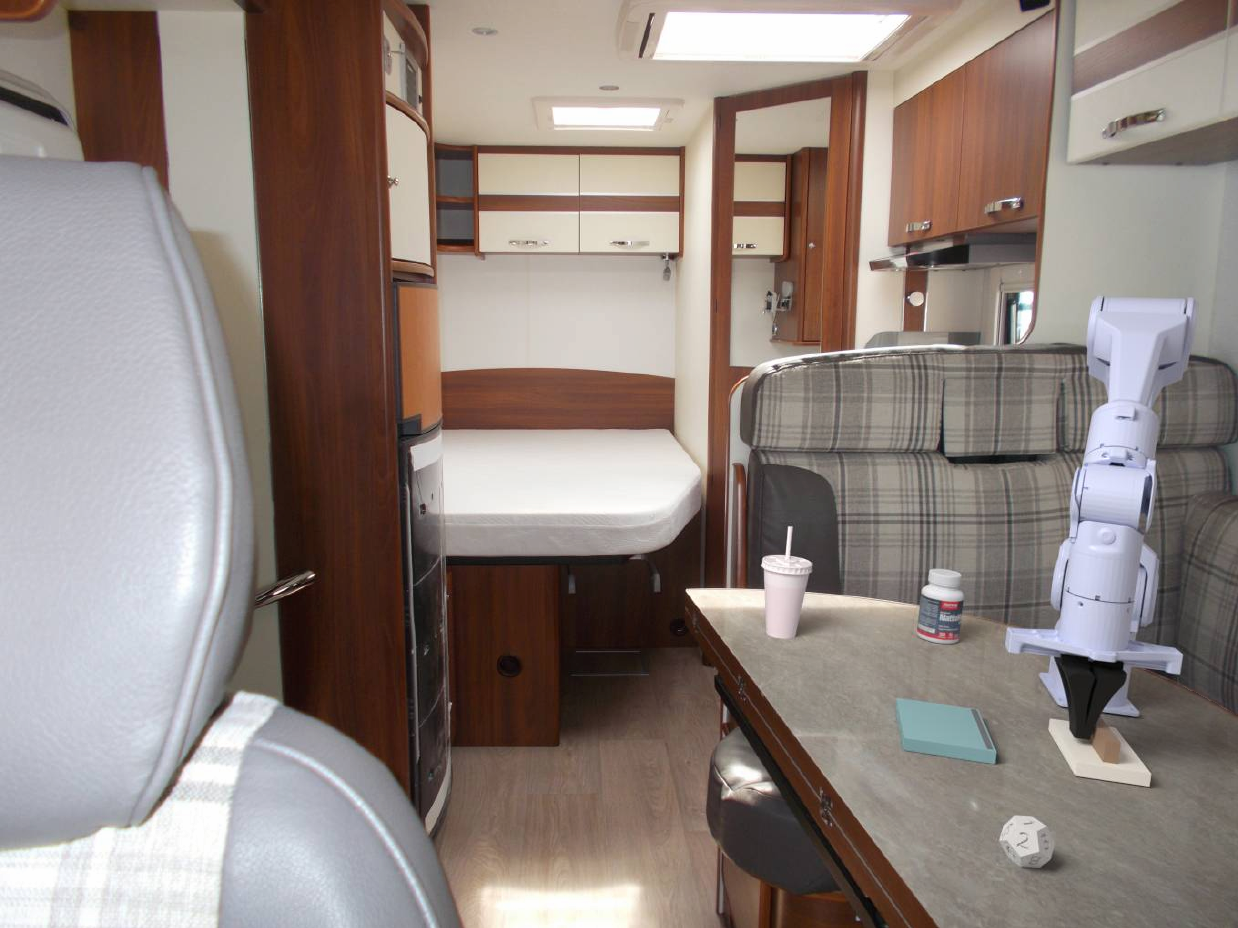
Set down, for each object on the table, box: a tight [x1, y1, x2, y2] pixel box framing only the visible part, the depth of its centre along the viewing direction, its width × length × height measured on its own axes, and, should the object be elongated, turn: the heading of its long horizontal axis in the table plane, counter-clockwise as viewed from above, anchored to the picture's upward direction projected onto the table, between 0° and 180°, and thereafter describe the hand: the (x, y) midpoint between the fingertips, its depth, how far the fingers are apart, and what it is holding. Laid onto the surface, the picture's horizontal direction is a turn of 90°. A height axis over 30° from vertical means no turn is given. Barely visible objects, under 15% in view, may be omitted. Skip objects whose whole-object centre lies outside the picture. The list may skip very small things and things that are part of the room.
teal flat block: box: [894, 697, 997, 765], centre depth 86 cm, size 10×8×1 cm
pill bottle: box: [916, 568, 965, 645], centre depth 116 cm, size 5×5×9 cm
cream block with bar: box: [1048, 715, 1152, 788], centre depth 83 cm, size 10×6×3 cm, turn 167°
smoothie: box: [760, 525, 813, 640], centre depth 113 cm, size 6×6×14 cm
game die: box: [998, 815, 1056, 869], centre depth 65 cm, size 4×4×3 cm
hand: (1079, 734), depth 84 cm, fingers closed
